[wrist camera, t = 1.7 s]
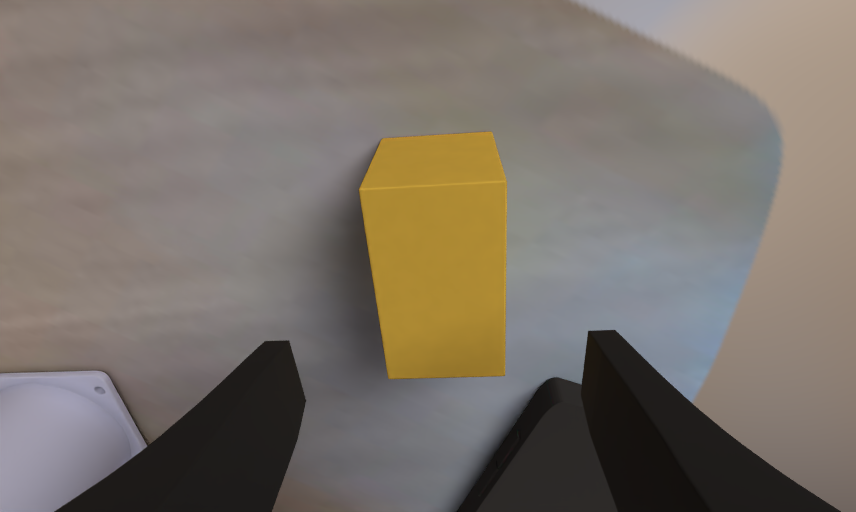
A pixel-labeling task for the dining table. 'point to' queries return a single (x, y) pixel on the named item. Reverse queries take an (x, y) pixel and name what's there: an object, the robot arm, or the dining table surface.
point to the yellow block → (438, 254)
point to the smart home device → (545, 460)
